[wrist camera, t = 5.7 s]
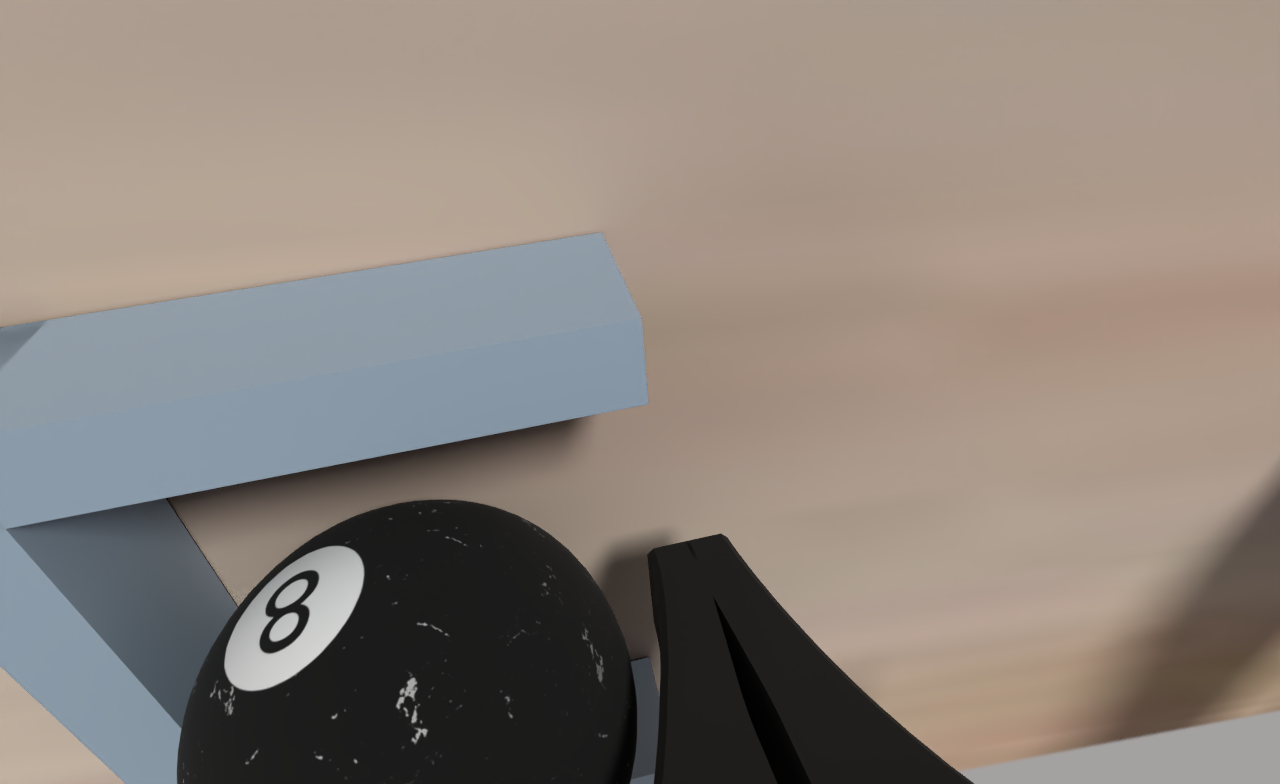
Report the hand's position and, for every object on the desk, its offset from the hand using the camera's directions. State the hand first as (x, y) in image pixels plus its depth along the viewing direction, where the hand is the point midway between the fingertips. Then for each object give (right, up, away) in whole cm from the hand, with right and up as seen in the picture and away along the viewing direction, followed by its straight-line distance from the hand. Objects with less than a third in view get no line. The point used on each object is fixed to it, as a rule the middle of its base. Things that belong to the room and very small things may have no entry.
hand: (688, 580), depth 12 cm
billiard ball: (-5, 0, +1) cm, 5 cm away
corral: (-5, 0, +1) cm, 5 cm away
